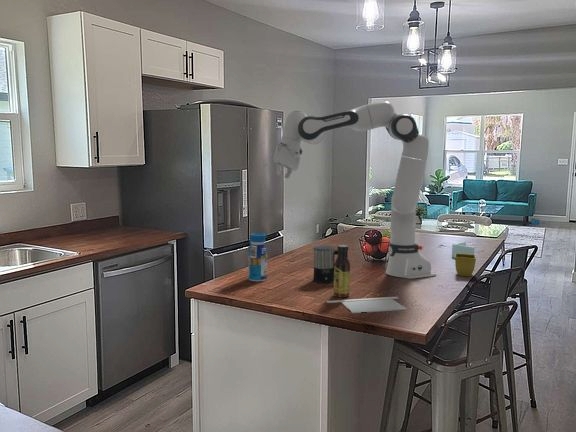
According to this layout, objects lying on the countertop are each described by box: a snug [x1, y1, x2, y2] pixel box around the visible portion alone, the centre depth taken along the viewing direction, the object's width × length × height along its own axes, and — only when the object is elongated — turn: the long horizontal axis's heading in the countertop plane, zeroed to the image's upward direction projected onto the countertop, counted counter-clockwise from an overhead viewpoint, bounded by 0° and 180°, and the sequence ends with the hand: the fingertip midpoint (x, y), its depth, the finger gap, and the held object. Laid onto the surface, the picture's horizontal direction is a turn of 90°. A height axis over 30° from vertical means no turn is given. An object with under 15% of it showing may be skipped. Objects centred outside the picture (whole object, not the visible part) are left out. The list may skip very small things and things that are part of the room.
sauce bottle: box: [333, 244, 351, 298], centre depth 191 cm, size 7×6×20 cm
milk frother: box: [312, 245, 338, 284], centre depth 218 cm, size 14×16×15 cm
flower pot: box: [454, 254, 477, 277], centre depth 225 cm, size 9×9×9 cm
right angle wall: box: [451, 241, 475, 259], centre depth 263 cm, size 12×12×8 cm
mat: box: [341, 299, 407, 314], centre depth 179 cm, size 20×12×1 cm, turn 102°
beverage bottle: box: [247, 232, 268, 282], centre depth 215 cm, size 8×8×20 cm
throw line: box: [326, 296, 399, 304], centre depth 186 cm, size 28×2×1 cm, turn 102°
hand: (282, 176), depth 224 cm, fingers open, 8 cm apart
